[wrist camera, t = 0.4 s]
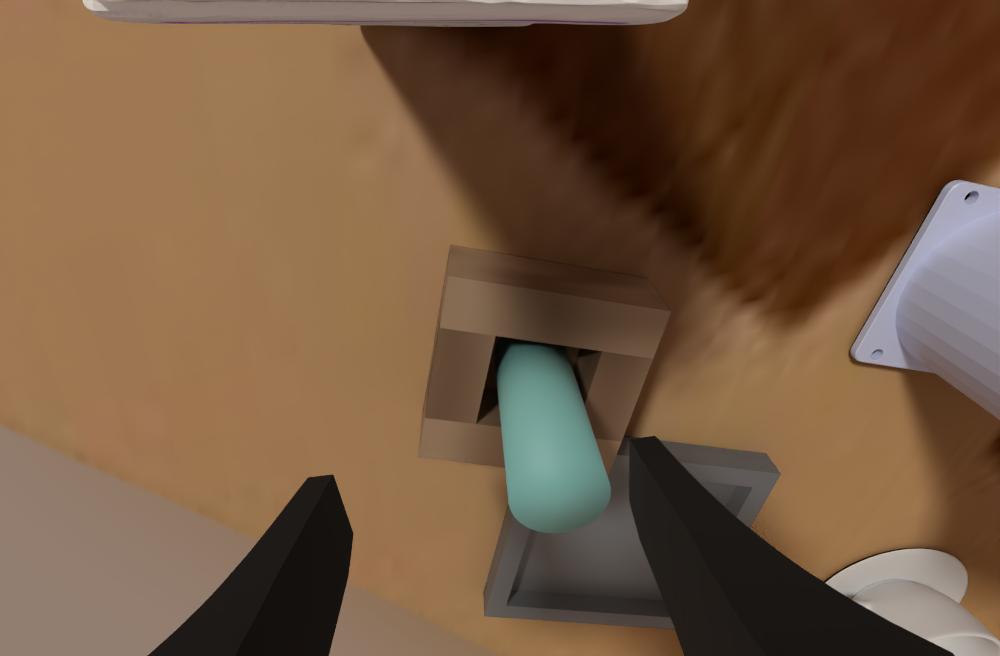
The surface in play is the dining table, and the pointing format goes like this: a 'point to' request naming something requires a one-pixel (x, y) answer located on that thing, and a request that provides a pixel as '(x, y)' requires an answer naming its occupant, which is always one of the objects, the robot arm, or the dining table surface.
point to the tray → (612, 548)
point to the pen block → (541, 318)
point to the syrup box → (390, 12)
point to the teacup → (919, 598)
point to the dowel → (547, 439)
